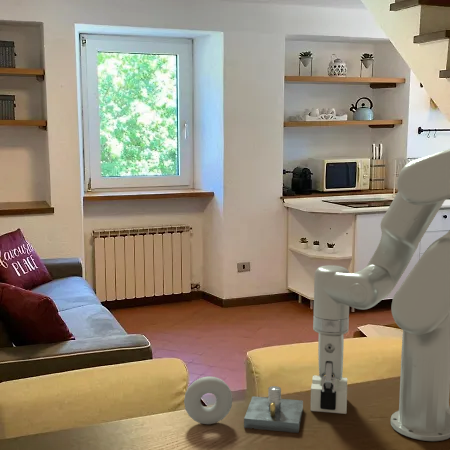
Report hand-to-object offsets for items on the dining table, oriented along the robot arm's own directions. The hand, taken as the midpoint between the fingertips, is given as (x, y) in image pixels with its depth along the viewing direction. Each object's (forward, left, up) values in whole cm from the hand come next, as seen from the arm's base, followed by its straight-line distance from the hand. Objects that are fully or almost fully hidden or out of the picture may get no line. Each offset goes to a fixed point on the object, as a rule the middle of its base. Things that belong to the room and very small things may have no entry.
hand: (328, 400), depth 138 cm
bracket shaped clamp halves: (0, 0, -1) cm, 1 cm away
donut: (+24, +14, -1) cm, 28 cm away
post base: (+11, +9, -1) cm, 14 cm away
